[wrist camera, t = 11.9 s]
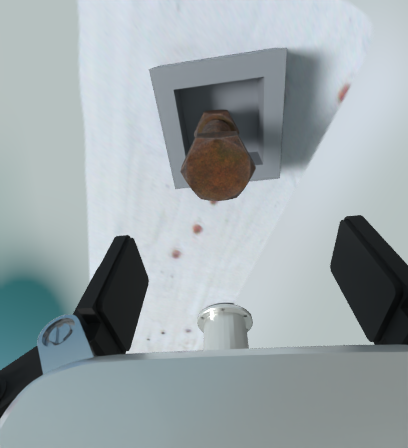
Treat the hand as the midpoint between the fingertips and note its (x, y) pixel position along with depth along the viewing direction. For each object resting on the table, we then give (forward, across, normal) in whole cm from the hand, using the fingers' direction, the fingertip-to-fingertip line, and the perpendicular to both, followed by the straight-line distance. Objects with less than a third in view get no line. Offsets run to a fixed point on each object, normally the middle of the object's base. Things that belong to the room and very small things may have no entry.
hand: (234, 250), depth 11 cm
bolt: (+24, +1, -1) cm, 24 cm away
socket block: (+25, 0, -1) cm, 25 cm away
